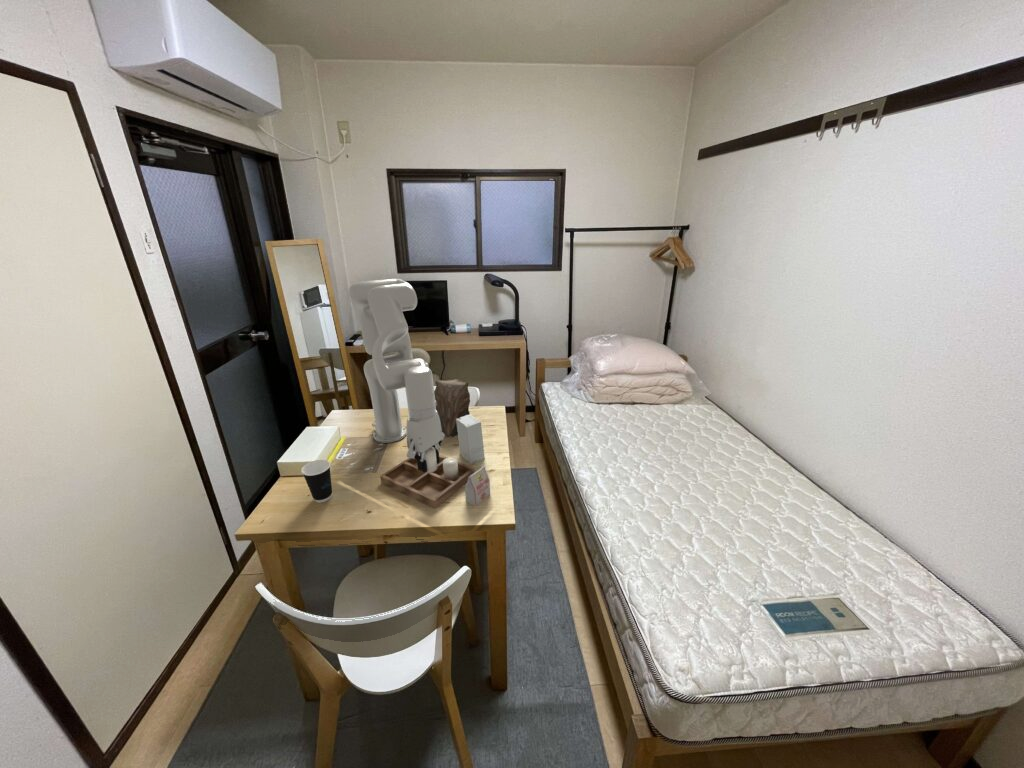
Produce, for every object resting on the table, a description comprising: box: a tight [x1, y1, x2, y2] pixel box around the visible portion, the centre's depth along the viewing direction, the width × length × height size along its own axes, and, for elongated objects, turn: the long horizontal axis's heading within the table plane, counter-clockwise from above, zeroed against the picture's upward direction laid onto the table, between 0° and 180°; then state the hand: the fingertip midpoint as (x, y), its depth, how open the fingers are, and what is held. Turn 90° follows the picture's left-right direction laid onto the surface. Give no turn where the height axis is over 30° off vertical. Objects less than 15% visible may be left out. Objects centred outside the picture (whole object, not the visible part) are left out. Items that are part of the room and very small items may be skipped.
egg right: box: [443, 456, 459, 481], centre depth 130 cm, size 5×5×6 cm
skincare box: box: [456, 413, 486, 464], centre depth 140 cm, size 8×6×15 cm
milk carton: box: [464, 465, 491, 507], centre depth 120 cm, size 4×7×10 cm, turn 143°
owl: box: [434, 378, 471, 438], centre depth 159 cm, size 13×13×20 cm
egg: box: [424, 447, 437, 473], centre depth 119 cm, size 5×5×6 cm
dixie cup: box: [300, 459, 333, 503], centre depth 122 cm, size 8×8×11 cm
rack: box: [379, 454, 477, 510], centre depth 130 cm, size 23×19×4 cm
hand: (429, 465), depth 120 cm, fingers closed on egg, 4 cm apart
